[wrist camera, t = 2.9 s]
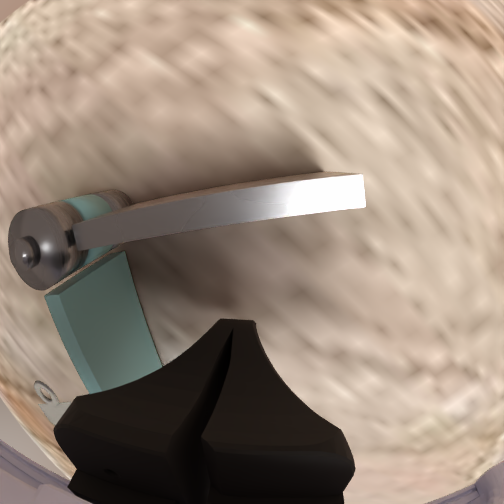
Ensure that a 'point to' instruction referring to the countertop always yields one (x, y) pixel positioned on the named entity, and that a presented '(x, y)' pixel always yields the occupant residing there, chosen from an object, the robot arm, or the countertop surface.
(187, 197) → the fixed steel leaf
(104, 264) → the teal swing leaf
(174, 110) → the countertop surface
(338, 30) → the countertop surface
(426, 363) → the countertop surface
